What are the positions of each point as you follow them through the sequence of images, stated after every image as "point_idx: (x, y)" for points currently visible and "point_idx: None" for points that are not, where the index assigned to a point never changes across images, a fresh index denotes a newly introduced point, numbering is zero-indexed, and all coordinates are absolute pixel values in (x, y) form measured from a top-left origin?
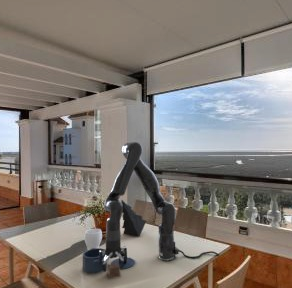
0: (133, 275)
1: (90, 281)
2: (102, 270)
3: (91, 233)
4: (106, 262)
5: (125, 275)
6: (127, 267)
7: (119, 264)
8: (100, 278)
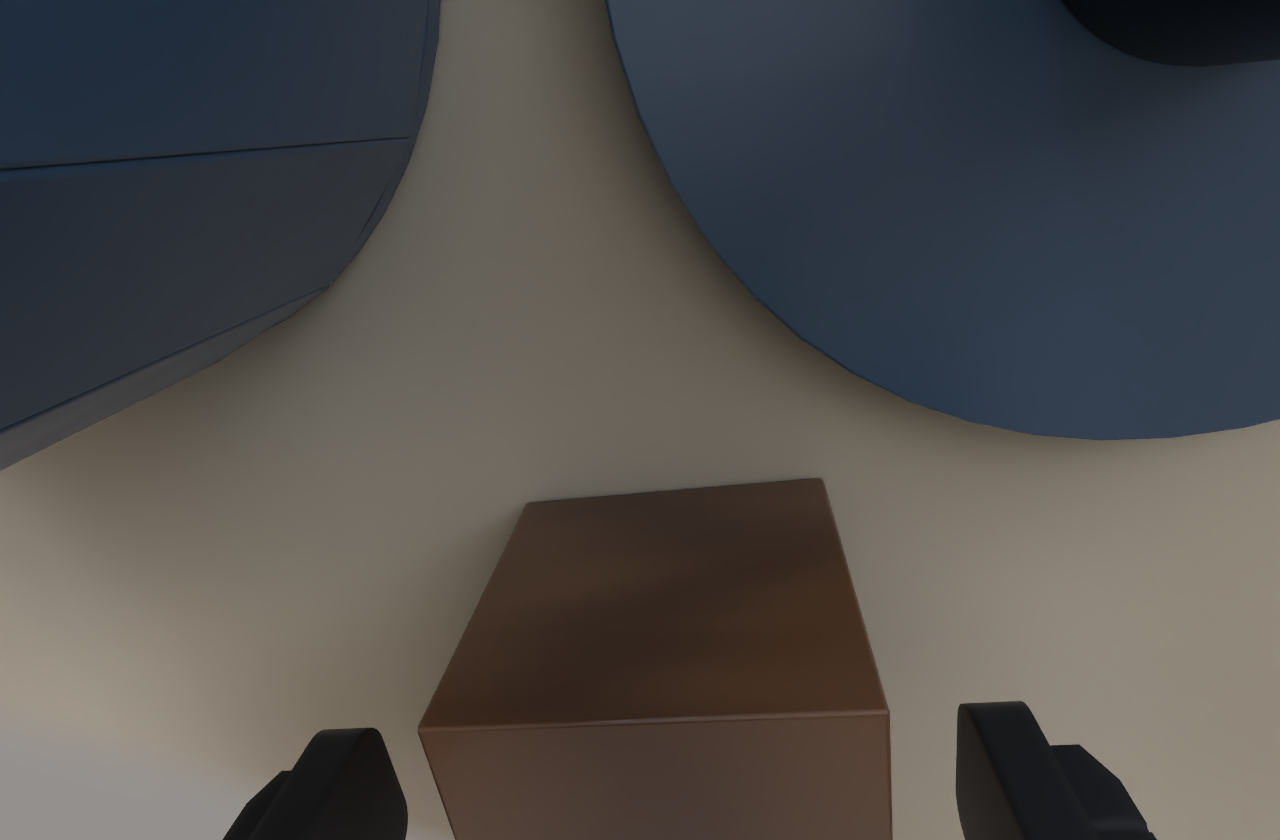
0: (1227, 763)
1: (141, 677)
2: (310, 297)
3: None
4: (322, 8)
5: (1011, 699)
6: (1259, 420)
7: (1017, 20)
8: (347, 631)
